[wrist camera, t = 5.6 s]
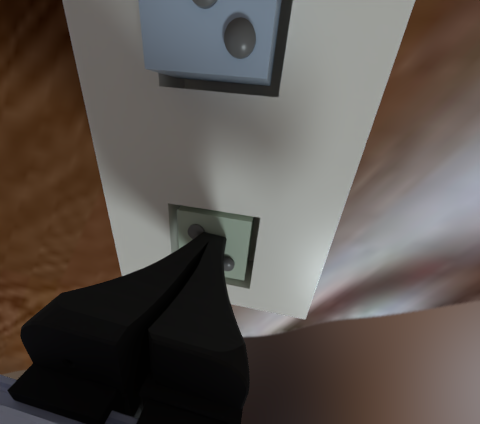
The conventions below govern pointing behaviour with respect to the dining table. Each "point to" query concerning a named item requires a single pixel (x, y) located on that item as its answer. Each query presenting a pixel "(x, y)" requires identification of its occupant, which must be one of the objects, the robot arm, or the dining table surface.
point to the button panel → (238, 137)
